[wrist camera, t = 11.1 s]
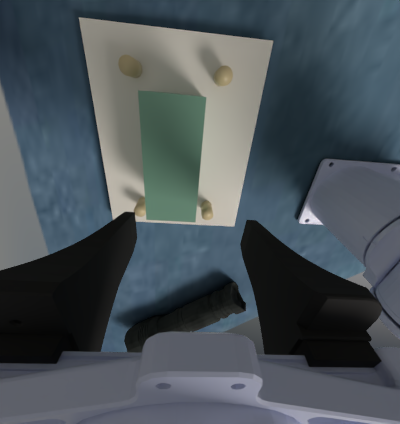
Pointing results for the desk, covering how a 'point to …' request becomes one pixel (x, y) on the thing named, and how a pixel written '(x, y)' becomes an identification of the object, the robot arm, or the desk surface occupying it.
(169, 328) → the flashlight
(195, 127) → the board block
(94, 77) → the mounting plate
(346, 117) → the desk surface
